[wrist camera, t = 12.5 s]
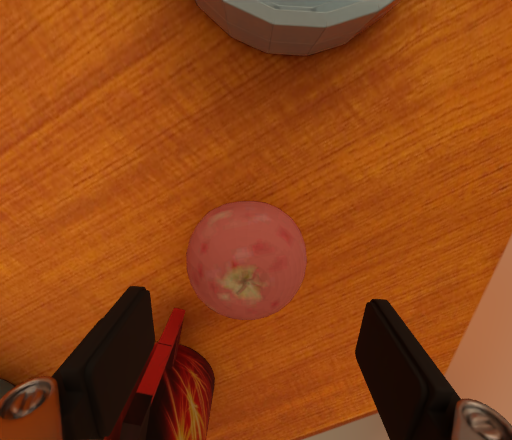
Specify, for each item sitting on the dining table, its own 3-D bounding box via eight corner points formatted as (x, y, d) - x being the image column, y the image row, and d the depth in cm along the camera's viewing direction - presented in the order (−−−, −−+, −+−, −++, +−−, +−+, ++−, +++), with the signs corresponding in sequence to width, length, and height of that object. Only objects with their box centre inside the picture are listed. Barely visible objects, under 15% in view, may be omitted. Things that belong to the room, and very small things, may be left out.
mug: (187, 296, 22) (117, 471, 11) (225, 405, 27) (203, 608, 15) (83, 315, 23) (-88, 499, 11) (137, 418, 27) (54, 623, 16)
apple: (199, 270, 21) (170, 347, 14) (203, 184, 19) (169, 220, 11) (286, 278, 21) (305, 357, 14) (301, 194, 19) (332, 236, 12)
